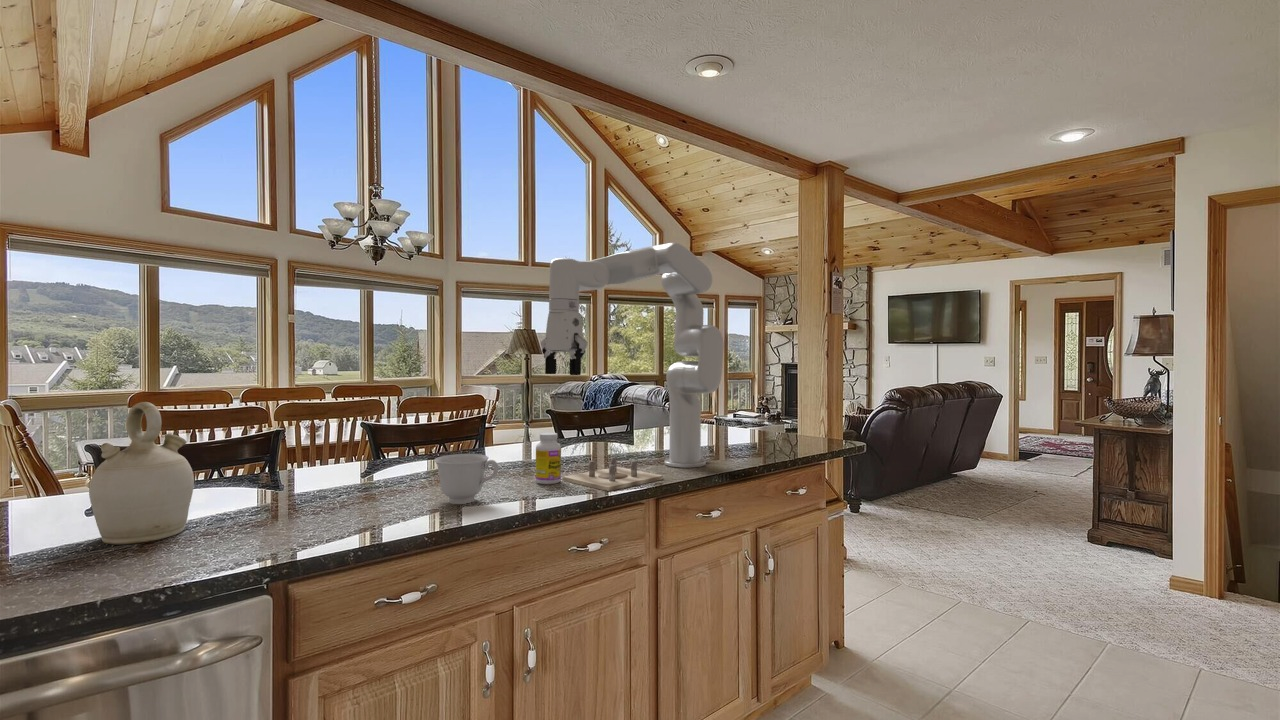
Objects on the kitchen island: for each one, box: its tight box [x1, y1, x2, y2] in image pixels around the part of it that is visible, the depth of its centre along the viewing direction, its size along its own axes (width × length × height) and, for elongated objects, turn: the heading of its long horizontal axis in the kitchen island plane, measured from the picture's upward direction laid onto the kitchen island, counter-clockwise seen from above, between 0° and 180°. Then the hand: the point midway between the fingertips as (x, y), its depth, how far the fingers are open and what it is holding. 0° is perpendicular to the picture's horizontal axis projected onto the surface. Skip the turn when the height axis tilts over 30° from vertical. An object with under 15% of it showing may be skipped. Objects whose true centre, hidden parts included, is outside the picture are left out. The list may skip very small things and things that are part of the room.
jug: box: [88, 401, 195, 545], centre depth 116 cm, size 15×16×25 cm
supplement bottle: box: [535, 432, 562, 485], centre depth 163 cm, size 7×7×13 cm
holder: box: [562, 456, 664, 492], centre depth 166 cm, size 20×18×5 cm
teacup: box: [433, 453, 499, 505], centre depth 142 cm, size 12×15×10 cm
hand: (562, 374), depth 158 cm, fingers open, 9 cm apart
